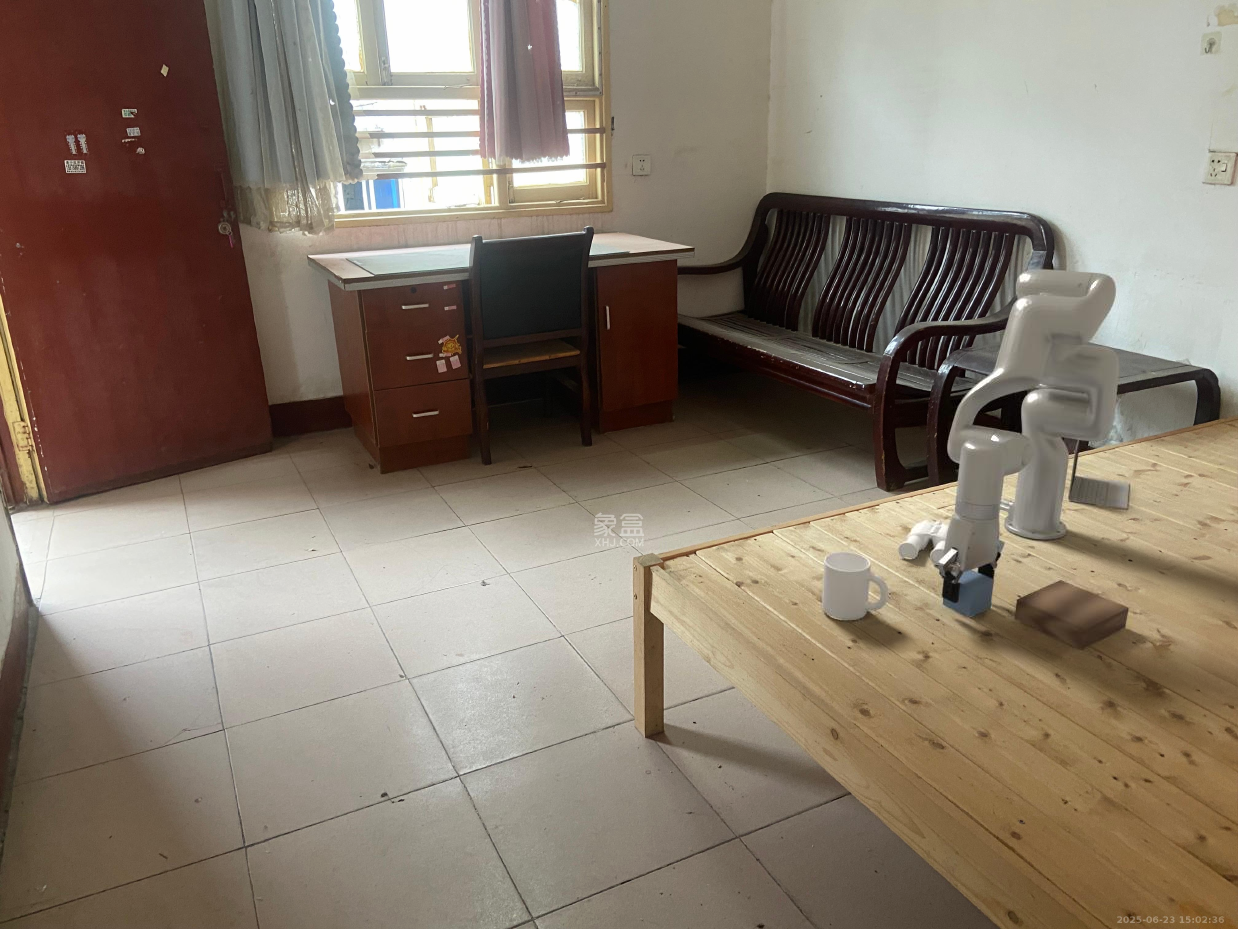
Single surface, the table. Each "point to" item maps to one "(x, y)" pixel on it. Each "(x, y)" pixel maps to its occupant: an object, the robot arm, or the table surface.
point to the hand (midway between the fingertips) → (967, 593)
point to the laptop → (1097, 489)
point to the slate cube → (972, 594)
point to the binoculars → (925, 540)
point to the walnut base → (1071, 614)
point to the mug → (849, 586)
